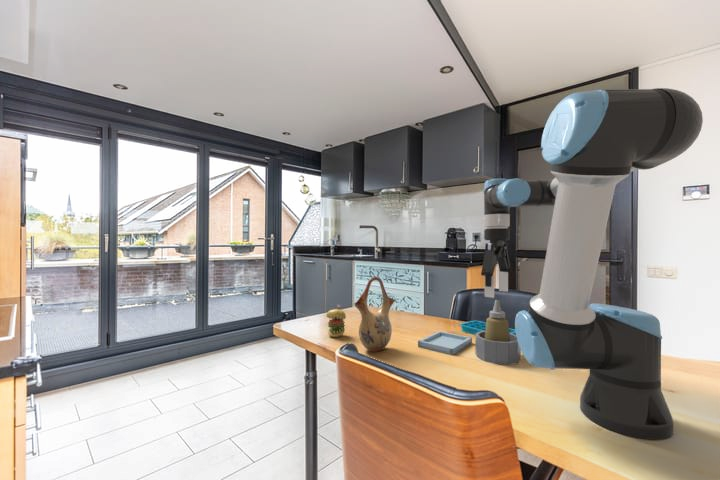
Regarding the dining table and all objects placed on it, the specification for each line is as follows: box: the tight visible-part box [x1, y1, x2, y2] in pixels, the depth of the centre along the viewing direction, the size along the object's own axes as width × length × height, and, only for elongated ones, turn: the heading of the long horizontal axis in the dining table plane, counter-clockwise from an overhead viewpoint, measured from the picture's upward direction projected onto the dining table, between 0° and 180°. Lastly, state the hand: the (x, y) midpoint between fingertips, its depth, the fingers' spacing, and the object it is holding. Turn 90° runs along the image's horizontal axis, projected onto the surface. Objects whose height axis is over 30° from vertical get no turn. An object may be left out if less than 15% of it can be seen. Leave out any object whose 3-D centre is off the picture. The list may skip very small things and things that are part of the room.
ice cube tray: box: [459, 320, 516, 336], centre depth 129 cm, size 12×20×3 cm, turn 34°
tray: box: [417, 330, 473, 356], centre depth 116 cm, size 16×13×2 cm
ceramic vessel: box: [353, 276, 396, 352], centre depth 111 cm, size 16×9×25 cm, turn 121°
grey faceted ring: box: [474, 331, 522, 365], centre depth 104 cm, size 13×13×6 cm
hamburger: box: [326, 304, 347, 338], centre depth 128 cm, size 8×7×12 cm
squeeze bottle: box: [485, 299, 510, 342], centre depth 104 cm, size 8×8×18 cm
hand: (496, 294), depth 104 cm, fingers open, 13 cm apart
